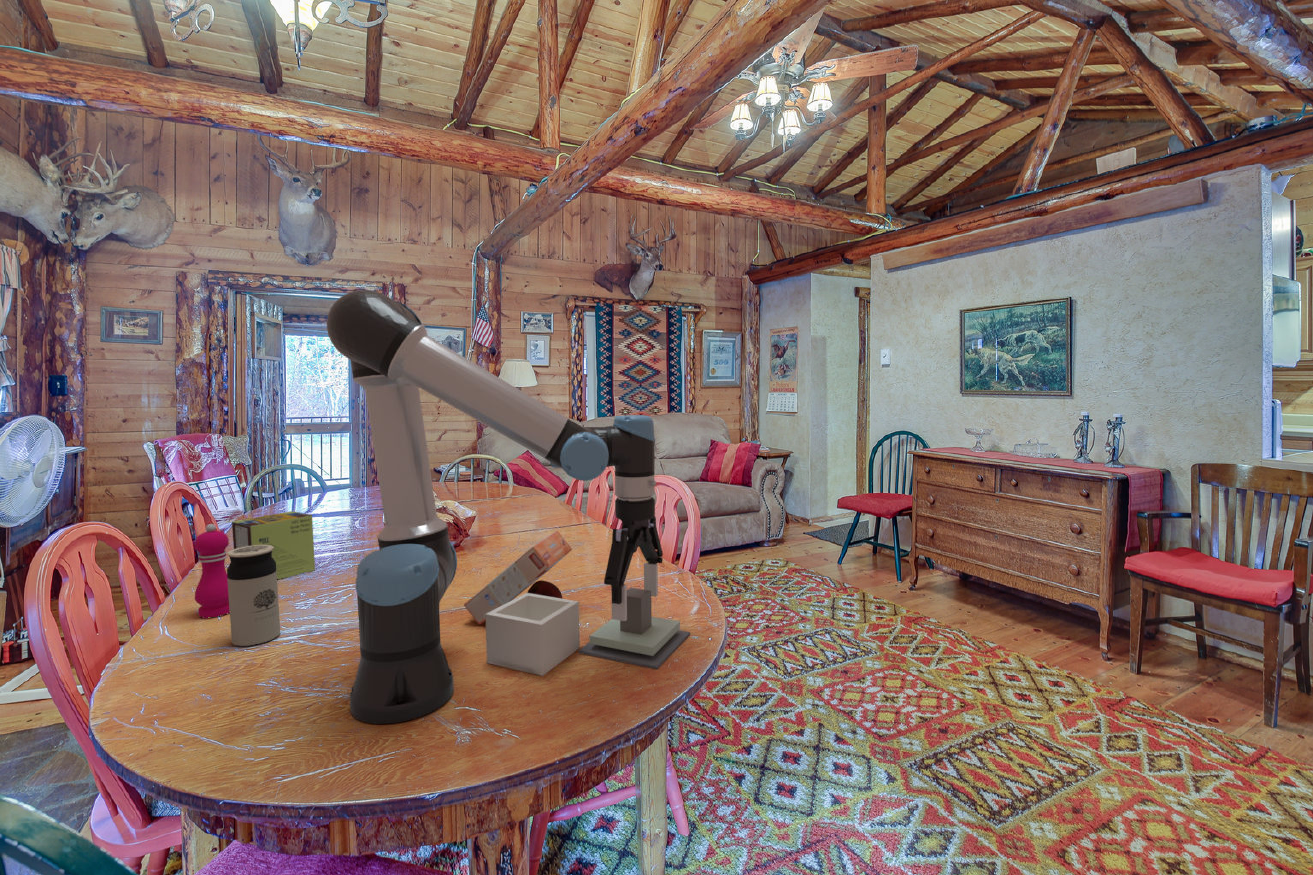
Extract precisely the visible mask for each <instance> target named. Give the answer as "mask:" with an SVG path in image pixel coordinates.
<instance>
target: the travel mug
mask: <svg viewBox="0 0 1313 875" xmlns="http://www.w3.org/2000/svg"><path fill="white" fill-rule="evenodd" d="M273 549H274V547H273V546H271V545H252V546H246V547H240V548H236V549H234V548H233V549H231V550H229V551H228V552H227V553H226V555H227V557H229V560H230V563H229V565H228V567H227V569H226V573H227V579H228V593H229V608H230V613H229V620H230V633H231V636H230V638H231V643H232V645H234V646H238V645H239V646H238V647H250V646H249V645H253V646H256V645H255V644H258V645H260V644H259V643H262V644H264V643H263V642H265V643H268V642H270V641H272V640H274V639H275V637H276V638H277V637H279V635H280V634H281V623H280V622H281V619H280V606H279V591H278V590H279V589H278V588H279V587H278V580H277V570H276V562H275V560H274V559H273V558H272V550H273ZM267 641H268V642H267Z"/></svg>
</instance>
